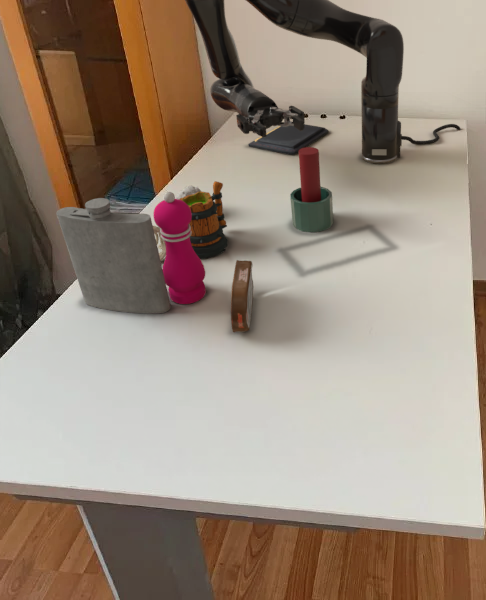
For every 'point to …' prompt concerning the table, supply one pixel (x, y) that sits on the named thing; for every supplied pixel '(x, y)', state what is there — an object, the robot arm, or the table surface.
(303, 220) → the tumbler
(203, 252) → the mug
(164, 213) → the pepper mill
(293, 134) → the wallet
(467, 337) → the table surface
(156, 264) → the hip flask
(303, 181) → the candle
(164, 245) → the bracelet
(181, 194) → the frog figurine
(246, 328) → the tin
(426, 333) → the table surface
